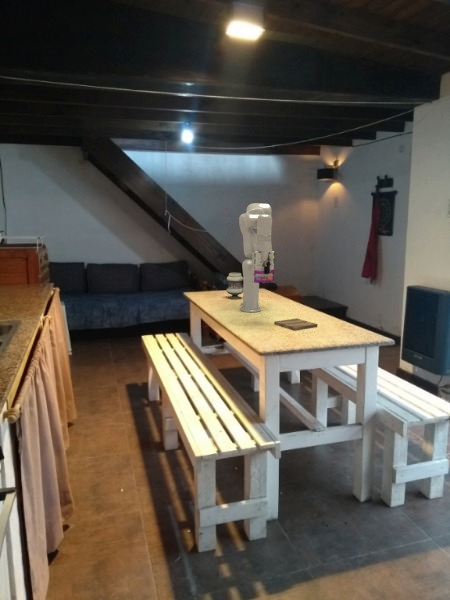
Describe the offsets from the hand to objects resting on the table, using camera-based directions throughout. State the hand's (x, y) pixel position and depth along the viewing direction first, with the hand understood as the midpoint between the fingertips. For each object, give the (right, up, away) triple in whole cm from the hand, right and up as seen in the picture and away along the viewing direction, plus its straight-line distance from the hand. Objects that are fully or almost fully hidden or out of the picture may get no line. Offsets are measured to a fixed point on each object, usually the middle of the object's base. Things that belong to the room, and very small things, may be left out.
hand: (262, 273), depth 233 cm
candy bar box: (0, -5, +1) cm, 5 cm away
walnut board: (+18, -28, +1) cm, 33 cm away
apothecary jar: (-13, -13, +80) cm, 83 cm away
